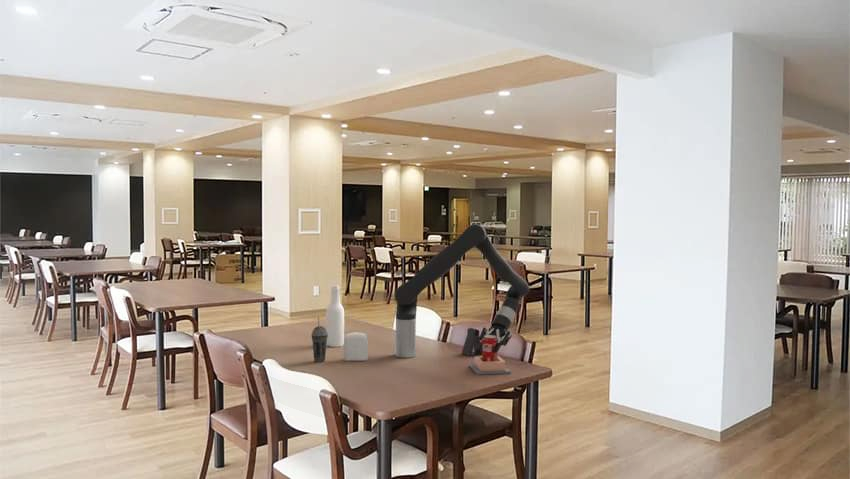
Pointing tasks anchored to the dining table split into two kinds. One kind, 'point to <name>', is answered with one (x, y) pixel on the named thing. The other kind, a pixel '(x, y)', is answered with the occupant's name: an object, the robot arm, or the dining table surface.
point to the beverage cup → (319, 343)
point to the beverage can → (489, 348)
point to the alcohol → (335, 319)
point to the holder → (490, 366)
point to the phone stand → (472, 343)
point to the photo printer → (356, 347)
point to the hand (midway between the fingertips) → (487, 350)
